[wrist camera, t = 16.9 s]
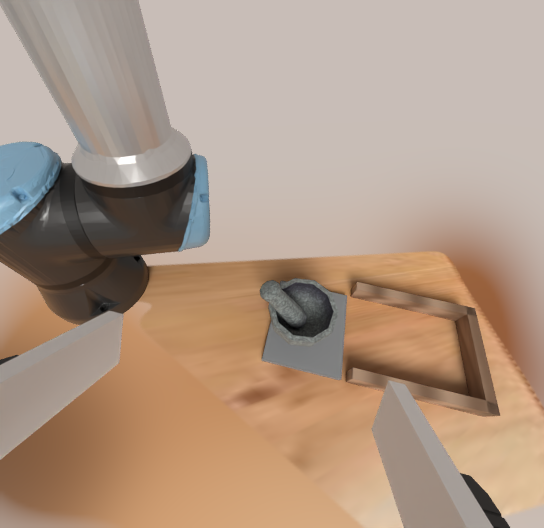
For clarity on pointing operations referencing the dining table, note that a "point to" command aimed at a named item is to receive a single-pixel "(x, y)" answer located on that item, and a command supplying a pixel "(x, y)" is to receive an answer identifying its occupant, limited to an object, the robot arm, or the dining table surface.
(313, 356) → the slate mat
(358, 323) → the dining table surface
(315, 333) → the mortar and pestle
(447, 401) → the rectangular wooden frame
